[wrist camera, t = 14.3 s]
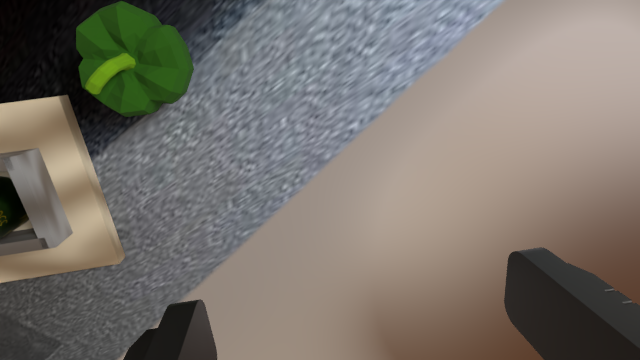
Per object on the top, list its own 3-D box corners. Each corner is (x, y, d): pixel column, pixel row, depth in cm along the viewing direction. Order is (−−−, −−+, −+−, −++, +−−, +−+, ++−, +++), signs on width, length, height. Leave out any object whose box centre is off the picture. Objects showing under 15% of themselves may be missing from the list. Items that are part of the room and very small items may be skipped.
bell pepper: (172, -3, 32) (128, -29, 22) (218, 82, 35) (195, 91, 25) (91, 37, 32) (14, 28, 23) (142, 118, 35) (92, 140, 25)
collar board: (-110, 118, 32) (-169, 126, 28) (67, 95, 33) (37, 99, 29) (-23, 280, 38) (-61, 307, 34) (125, 256, 39) (106, 279, 35)
